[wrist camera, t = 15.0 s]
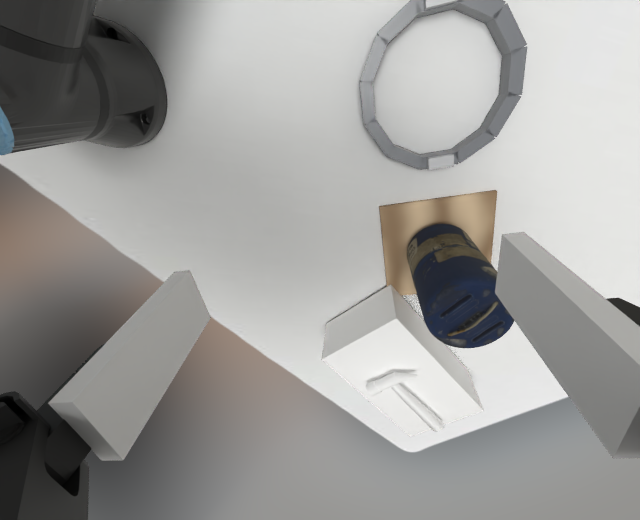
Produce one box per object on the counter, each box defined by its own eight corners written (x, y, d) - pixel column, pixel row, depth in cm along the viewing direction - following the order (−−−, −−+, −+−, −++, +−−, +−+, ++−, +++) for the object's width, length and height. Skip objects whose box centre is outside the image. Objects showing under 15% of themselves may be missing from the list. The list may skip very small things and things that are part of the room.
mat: (387, 294, 52) (388, 296, 52) (379, 206, 45) (379, 207, 44) (487, 285, 49) (488, 287, 49) (495, 190, 42) (497, 191, 42)
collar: (369, 173, 43) (369, 179, 40) (352, 17, 35) (351, 9, 32) (506, 151, 40) (519, 156, 37) (523, -27, 32) (541, -40, 28)
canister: (480, 256, 46) (543, 338, 31) (424, 285, 50) (454, 371, 34) (450, 207, 43) (503, 270, 28) (393, 241, 47) (410, 315, 31)
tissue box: (390, 284, 50) (398, 329, 41) (467, 369, 58) (489, 424, 49) (326, 323, 56) (319, 371, 47) (403, 396, 64) (412, 449, 54)
